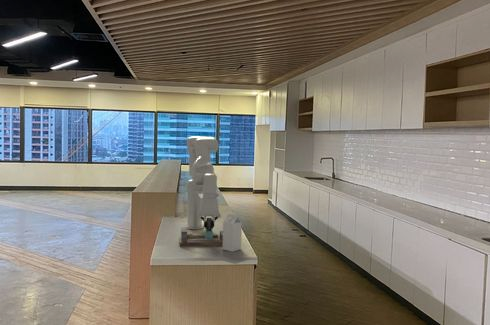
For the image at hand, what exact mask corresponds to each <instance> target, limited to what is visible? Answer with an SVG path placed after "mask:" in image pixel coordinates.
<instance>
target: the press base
mask: <svg viewBox="0 0 490 325" xmlns="http://www.w3.org/2000/svg"><path fill="white" fill-rule="evenodd" d="M180 228H181V229H180V237H179V238H178V240H179V242H178V243H179V247H223V230H219V235H218V234H213V239H205V234H193V233H188V229H187V228H185V227H180Z"/></svg>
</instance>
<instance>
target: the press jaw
mask: <svg viewBox="0 0 490 325" xmlns="http://www.w3.org/2000/svg"><path fill="white" fill-rule="evenodd" d="M206 222H207V229H205V228H204V235H205V239H213V235H214V231H213V229H212V217H206Z"/></svg>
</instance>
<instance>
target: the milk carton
mask: <svg viewBox="0 0 490 325" xmlns="http://www.w3.org/2000/svg"><path fill="white" fill-rule="evenodd" d="M242 227H243V226H242V221H241V220H240V218H239V216H238V215H237V214H232V213H227V216H226V217H225V218H224V220H223V221H222V231H223V246H222V250H224V251H228V252H231V253H233V252H236V251H239V250H242Z"/></svg>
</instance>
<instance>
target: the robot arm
mask: <svg viewBox="0 0 490 325" xmlns="http://www.w3.org/2000/svg"><path fill="white" fill-rule="evenodd" d="M186 149H187V152H188V156H189V160H188V161H189V162H188V163H189V166H188V171H189V172H188V173H189V175H190V177H191V179H189V180H188V181H187V183H186V193H187V222H186V223H187V224H185V225H184V228H187V230H201V229H204V230H205V229H207V222H206V220H207V217H211V218H212V230H214V227H215V222H216V220H218V219H219V218H221V217H222V215H221V213H220V211H219V210H220V209H219V200H218V197H220V193H217V186H218V177H217V174H216V173H215V169H214V165H213V164H212V163H211V161H212V157H211V153H217V151H218V150H219V142H218V140H217V138H215V137H213V136H190V137H187V139H186ZM199 195H202V197H200V196H199Z"/></svg>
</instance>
